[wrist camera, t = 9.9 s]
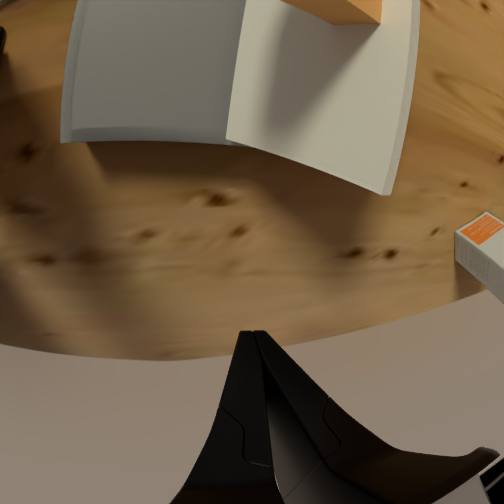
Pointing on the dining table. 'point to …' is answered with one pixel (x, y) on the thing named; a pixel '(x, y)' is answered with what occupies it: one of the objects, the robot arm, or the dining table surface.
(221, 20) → the carton
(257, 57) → the lid flap
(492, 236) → the skincare box
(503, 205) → the dining table surface
